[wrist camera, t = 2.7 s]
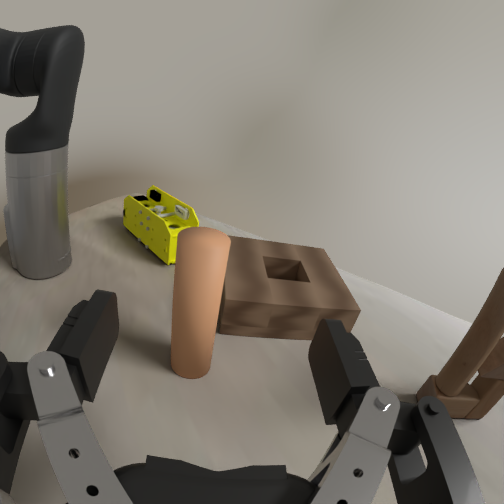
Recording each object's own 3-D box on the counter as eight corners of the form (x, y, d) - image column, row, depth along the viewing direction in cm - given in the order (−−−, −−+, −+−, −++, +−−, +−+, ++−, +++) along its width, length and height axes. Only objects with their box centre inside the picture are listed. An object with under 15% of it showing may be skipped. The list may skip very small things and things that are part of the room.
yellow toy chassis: (196, 261, 47) (202, 212, 43) (166, 270, 43) (170, 217, 39) (147, 223, 56) (150, 182, 52) (121, 229, 52) (123, 185, 48)
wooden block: (481, 420, 24) (568, 303, 16) (419, 417, 25) (514, 280, 17) (475, 399, 27) (552, 285, 19) (414, 393, 29) (496, 261, 21)
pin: (168, 376, 26) (174, 246, 20) (173, 347, 30) (181, 223, 24) (210, 380, 27) (231, 254, 21) (210, 351, 31) (230, 230, 24)
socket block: (219, 333, 33) (225, 299, 31) (219, 263, 48) (224, 235, 45) (346, 340, 36) (360, 310, 34) (314, 275, 50) (323, 248, 48)
